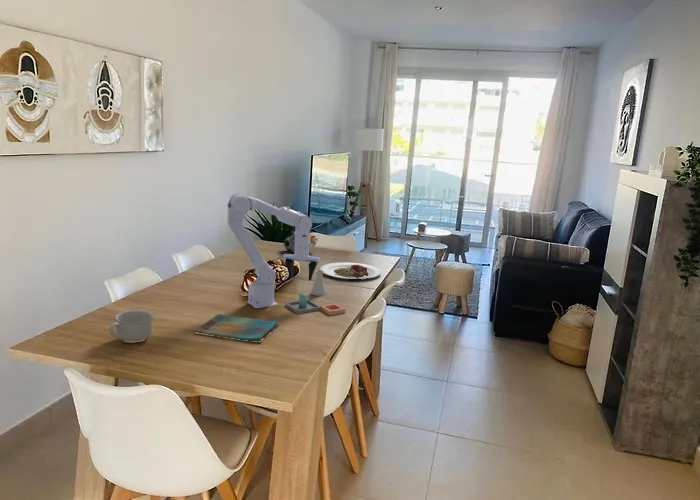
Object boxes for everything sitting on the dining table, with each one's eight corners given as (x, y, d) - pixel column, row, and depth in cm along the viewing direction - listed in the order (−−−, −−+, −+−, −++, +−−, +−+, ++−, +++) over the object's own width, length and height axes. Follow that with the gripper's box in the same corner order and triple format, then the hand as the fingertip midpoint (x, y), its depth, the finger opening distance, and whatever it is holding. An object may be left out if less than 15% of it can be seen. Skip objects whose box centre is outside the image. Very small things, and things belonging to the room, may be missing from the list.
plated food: (313, 278, 241) (313, 271, 241) (327, 263, 270) (327, 257, 270) (376, 284, 237) (377, 277, 236) (384, 269, 265) (384, 262, 265)
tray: (297, 314, 192) (297, 310, 191) (285, 306, 200) (285, 302, 199) (320, 310, 197) (320, 307, 197) (308, 303, 205) (308, 299, 205)
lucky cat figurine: (308, 248, 302) (319, 227, 294) (311, 262, 291) (322, 241, 284) (281, 240, 296) (291, 219, 288) (283, 254, 285) (293, 232, 277)
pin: (301, 308, 196) (301, 296, 195) (297, 306, 199) (298, 294, 198) (308, 307, 198) (308, 295, 197) (304, 305, 200) (304, 293, 199)
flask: (324, 297, 214) (325, 274, 212) (307, 295, 215) (308, 272, 213) (329, 292, 221) (330, 269, 218) (312, 290, 222) (313, 268, 220)
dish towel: (261, 345, 164) (261, 338, 163) (193, 336, 168) (193, 328, 168) (279, 326, 180) (279, 320, 179) (217, 318, 185) (217, 312, 184)
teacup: (142, 330, 169) (141, 307, 167) (160, 340, 162) (159, 316, 160) (99, 342, 158) (97, 317, 156) (116, 353, 151) (115, 327, 150)
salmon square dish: (329, 316, 192) (329, 311, 191) (320, 310, 197) (320, 305, 197) (345, 313, 196) (345, 308, 195) (335, 307, 201) (335, 303, 201)
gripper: (322, 245, 204) (321, 278, 207) (287, 241, 207) (286, 274, 210) (317, 248, 197) (316, 282, 200) (281, 245, 200) (280, 278, 203)
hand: (300, 278), depth 204 cm, fingers open, 7 cm apart
